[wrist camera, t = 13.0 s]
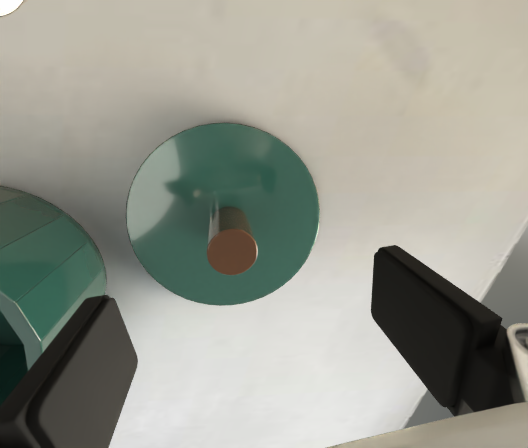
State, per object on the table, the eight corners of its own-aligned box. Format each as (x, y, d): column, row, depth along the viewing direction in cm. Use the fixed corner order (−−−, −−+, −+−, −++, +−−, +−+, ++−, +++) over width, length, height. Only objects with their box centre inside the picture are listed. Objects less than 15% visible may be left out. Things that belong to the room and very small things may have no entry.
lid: (332, 140, 20) (377, 143, 14) (297, 299, 25) (321, 350, 19) (130, 106, 17) (85, 92, 11) (131, 294, 22) (100, 353, 16)
